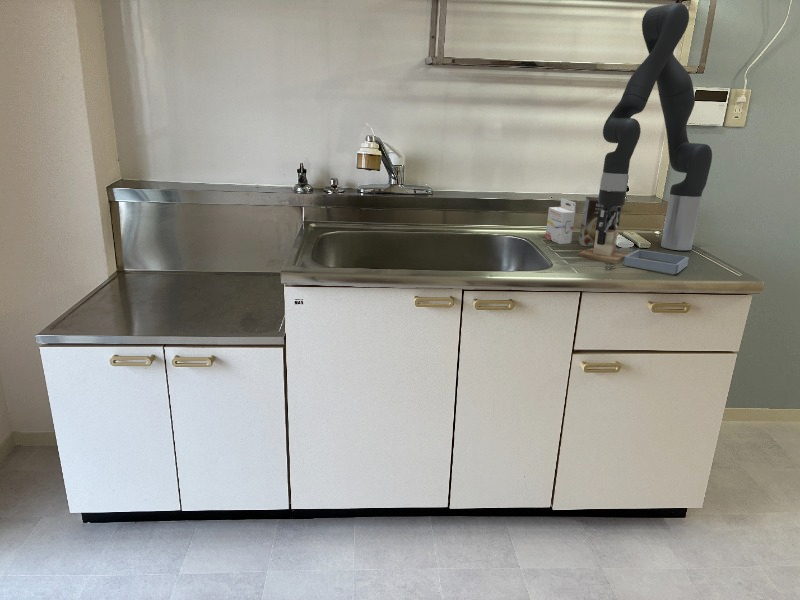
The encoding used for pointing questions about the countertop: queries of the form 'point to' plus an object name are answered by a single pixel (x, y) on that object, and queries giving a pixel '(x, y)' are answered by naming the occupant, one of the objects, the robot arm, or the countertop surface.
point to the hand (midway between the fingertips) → (605, 242)
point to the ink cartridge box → (561, 222)
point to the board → (603, 256)
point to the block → (606, 244)
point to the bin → (655, 265)
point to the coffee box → (589, 221)
